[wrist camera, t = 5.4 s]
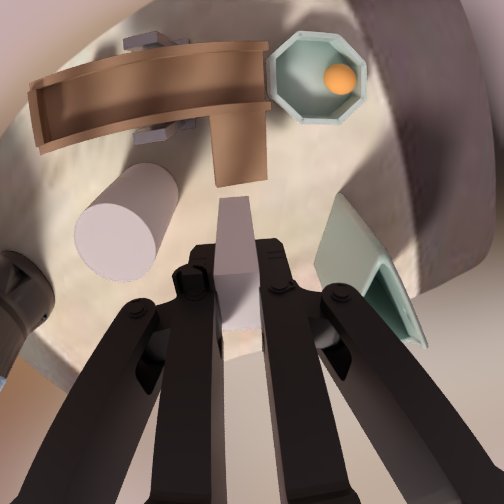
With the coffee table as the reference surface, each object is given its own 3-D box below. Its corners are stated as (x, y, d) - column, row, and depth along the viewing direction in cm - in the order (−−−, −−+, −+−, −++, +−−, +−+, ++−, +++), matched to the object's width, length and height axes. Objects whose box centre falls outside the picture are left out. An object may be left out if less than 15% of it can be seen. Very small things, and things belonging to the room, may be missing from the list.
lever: (66, 219, 24) (59, 232, 21) (38, 83, 16) (26, 83, 14) (264, 177, 29) (275, 186, 26) (259, 44, 21) (271, 40, 19)
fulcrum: (152, 132, 30) (123, 153, 22) (144, 47, 24) (110, 37, 16) (195, 127, 30) (180, 144, 22) (189, 39, 24) (170, 22, 16)
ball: (357, 96, 25) (355, 95, 27) (357, 64, 23) (355, 66, 25) (323, 93, 25) (323, 93, 28) (322, 61, 23) (323, 63, 26)
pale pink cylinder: (123, 155, 31) (76, 193, 21) (186, 172, 33) (163, 218, 23) (112, 214, 35) (73, 268, 25) (170, 230, 37) (148, 291, 27)
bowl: (268, 120, 30) (271, 124, 27) (264, 35, 25) (268, 29, 22) (353, 121, 30) (365, 126, 27) (353, 41, 25) (365, 38, 22)
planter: (286, 221, 37) (325, 344, 20) (340, 191, 35) (419, 294, 18) (334, 299, 45) (373, 408, 28) (378, 276, 43) (433, 378, 26)
